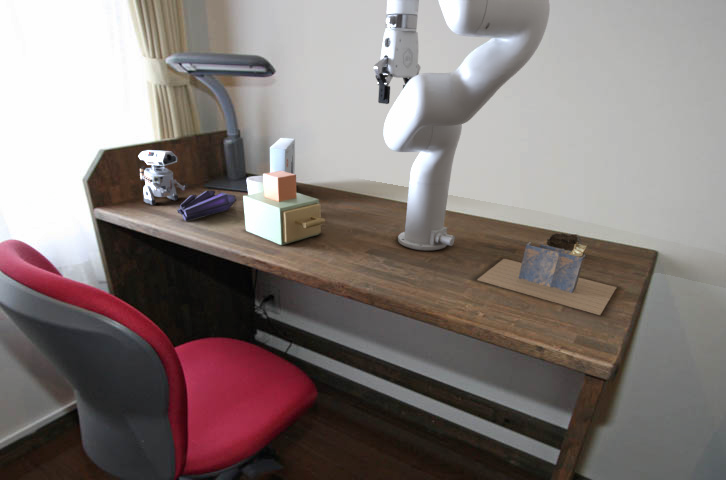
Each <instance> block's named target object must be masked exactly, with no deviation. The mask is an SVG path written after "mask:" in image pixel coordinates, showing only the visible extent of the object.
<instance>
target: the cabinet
mask: <svg viewBox="0 0 726 480" xmlns="http://www.w3.org/2000/svg"><path fill="white" fill-rule="evenodd" d="M296 194H297V198H294V199H289V200H284V201H280V202H278V201H275V200H272V199H269V198H266V197H264V192H260V193H255V194H250V195H248V194H246V195H242V199H243V211H244V213H243V214H244V224H245V231H246V232H248V233H250V234H253V235H255V236H257V237H261V238H262V239H265V240H267V241H270V242H272V243H275V244H277V245H280V246H285V245H287V244H292V243H295V242H298V241H301V240H304V239H309V238H311V237H316V236H319V235H320V233H318V234H314V235H311V236H307V237H304V238H301V239H297V240H294V241H290V242H287V243H286V242H284V241H283V218H282V212H283V211H285V210H289V209H294V208H298V207H302V206H306V205H311V204H312V205H314V204H320V199H319V198H317V197H312V196H309V195H305V194H303V193H299V192H296Z"/></svg>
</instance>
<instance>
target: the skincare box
mask: <svg viewBox="0 0 726 480" xmlns="http://www.w3.org/2000/svg"><path fill="white" fill-rule="evenodd" d="M295 150H296V138H290V137H289V138H288V137H280V138H279V139H278V140H277V141H275V143H273V144H271V146H270V147H269V173H270V172H276V171H284V172H288V173H292V174H295V167H296V165H295V163H296V162H295V159H296V156H295V155H296V152H295ZM295 175H296V174H295Z"/></svg>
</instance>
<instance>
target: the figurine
mask: <svg viewBox="0 0 726 480" xmlns="http://www.w3.org/2000/svg"><path fill="white" fill-rule="evenodd" d="M137 157H138V158H139V161H144V162H145V163H146V165H147V166H151V167H147V166H141V168H139V176H140V177H139V178H140V181H144V182H145V185H144V186H143V191H142V192H143V202H145V203H146V204H149V205H151V206H154V205H156V204H157V202H156V199H155V197H157V198H164V197H167V199H169V200H173V201H178V200H179V195H178V193H177V189H176V188H179V189H180V190H181V191H185V190H186V188H188V187H189V184H188V182H186V181H185V184H184V185H182V184H180V182H178V181H177V179H174V171H172V170H170V169H169V168H167V167H166V166H169V165H172V164H173V165H174V164H175V163H178V156H177V155H175V153H174V152H173V151H171V150H155V149H153V150H152V149H146V150H143V151H141V152H140V153H139V154H138V156H137ZM144 168H145V169H144Z"/></svg>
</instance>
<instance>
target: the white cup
mask: <svg viewBox="0 0 726 480" xmlns="http://www.w3.org/2000/svg"><path fill="white" fill-rule="evenodd" d="M246 185H247V195H250V194H255V193H260V192H264V180H263V175H253V176H248V177H246Z"/></svg>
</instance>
